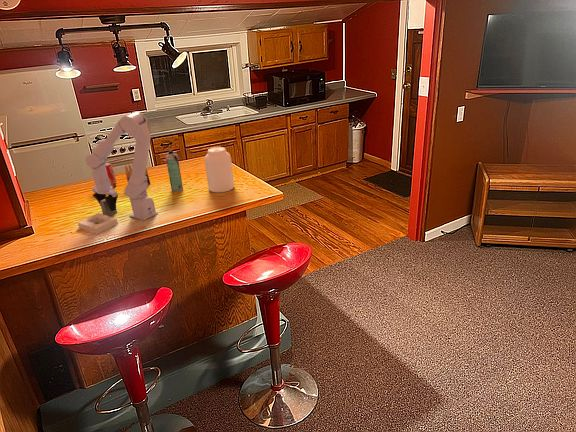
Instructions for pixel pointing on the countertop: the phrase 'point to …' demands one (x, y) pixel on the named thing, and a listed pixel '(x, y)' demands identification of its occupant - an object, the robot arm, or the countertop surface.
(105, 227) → the socket block
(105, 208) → the key peg
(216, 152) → the white plastic jar
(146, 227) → the countertop surface
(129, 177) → the ammunition clip
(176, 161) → the spray can
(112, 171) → the soda can
